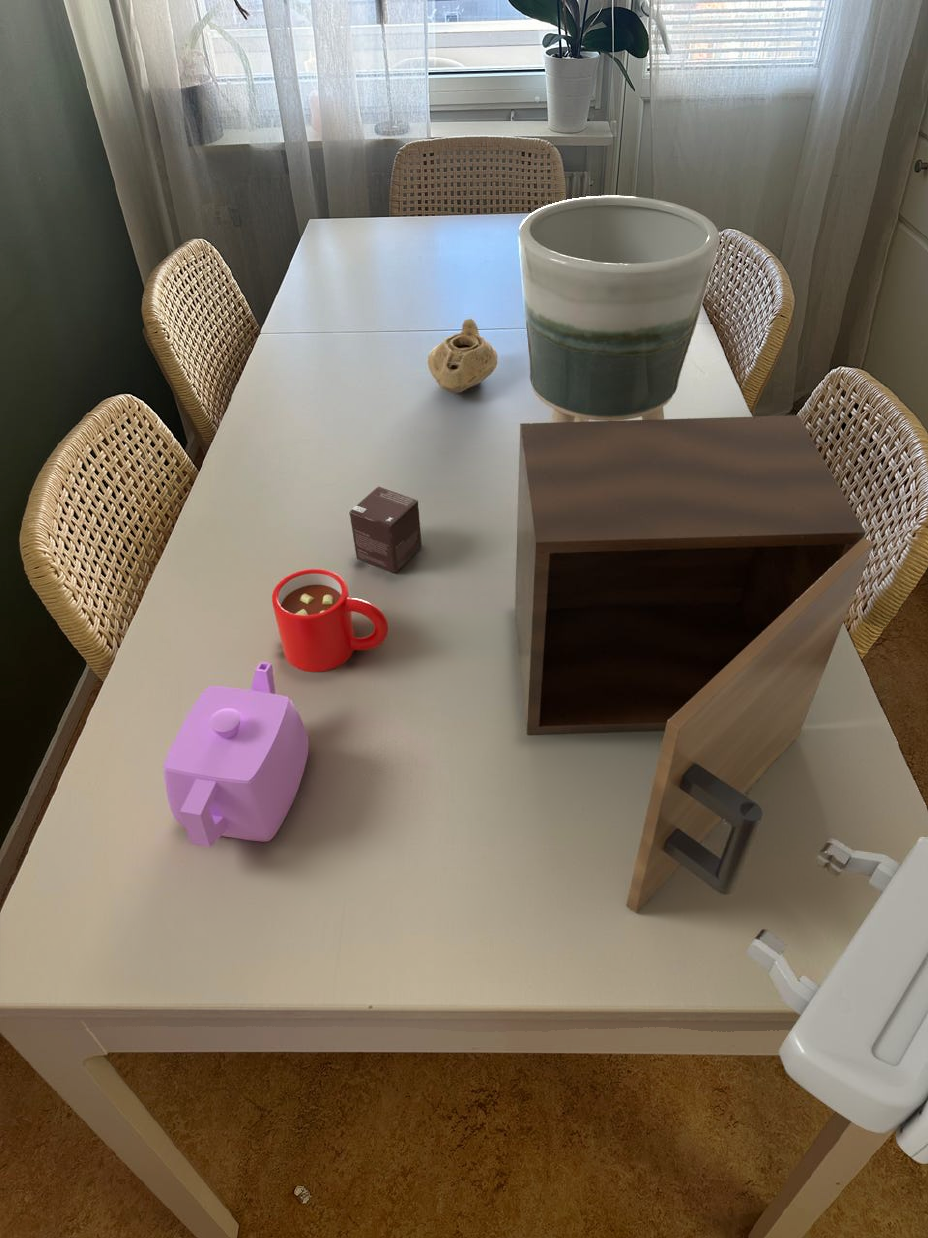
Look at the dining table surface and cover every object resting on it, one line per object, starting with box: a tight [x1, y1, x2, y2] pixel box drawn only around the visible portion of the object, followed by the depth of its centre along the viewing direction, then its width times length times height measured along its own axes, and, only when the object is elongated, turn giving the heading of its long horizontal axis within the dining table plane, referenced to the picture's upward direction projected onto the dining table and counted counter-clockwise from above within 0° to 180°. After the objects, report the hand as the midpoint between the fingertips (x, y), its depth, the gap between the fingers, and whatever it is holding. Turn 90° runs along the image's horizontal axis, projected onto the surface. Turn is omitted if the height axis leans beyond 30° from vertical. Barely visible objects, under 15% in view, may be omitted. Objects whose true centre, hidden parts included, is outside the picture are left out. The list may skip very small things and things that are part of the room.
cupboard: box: [514, 414, 867, 736], centre depth 84 cm, size 18×26×24 cm
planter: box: [517, 195, 721, 423], centre depth 106 cm, size 22×22×33 cm
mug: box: [271, 568, 389, 673], centre depth 93 cm, size 8×12×8 cm, turn 83°
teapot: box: [163, 661, 310, 848], centre depth 79 cm, size 18×10×10 cm, turn 169°
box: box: [349, 485, 423, 574], centre depth 104 cm, size 6×6×7 cm
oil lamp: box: [427, 318, 498, 394], centre depth 134 cm, size 11×15×8 cm
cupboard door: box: [626, 537, 875, 913], centre depth 69 cm, size 7×26×24 cm, turn 135°
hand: (789, 893), depth 60 cm, fingers open, 8 cm apart
